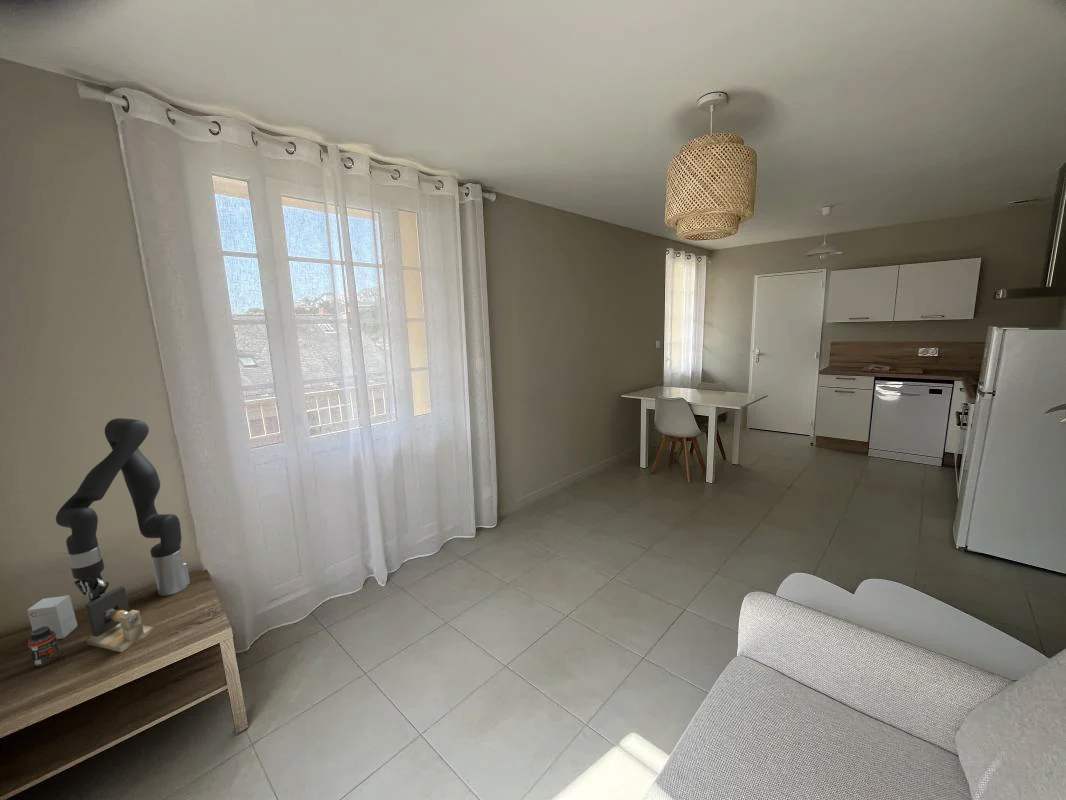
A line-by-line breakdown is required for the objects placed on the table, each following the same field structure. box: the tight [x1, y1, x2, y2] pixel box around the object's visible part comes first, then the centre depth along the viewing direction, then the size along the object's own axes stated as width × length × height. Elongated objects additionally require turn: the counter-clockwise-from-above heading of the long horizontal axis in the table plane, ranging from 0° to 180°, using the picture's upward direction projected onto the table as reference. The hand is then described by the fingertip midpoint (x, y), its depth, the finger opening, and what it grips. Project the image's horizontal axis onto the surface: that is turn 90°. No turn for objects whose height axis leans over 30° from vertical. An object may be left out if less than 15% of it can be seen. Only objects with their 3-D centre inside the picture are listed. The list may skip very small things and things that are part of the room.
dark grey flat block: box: [85, 585, 131, 637], centre depth 145 cm, size 10×2×12 cm, turn 167°
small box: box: [26, 595, 78, 640], centre depth 146 cm, size 8×6×13 cm
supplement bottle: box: [27, 626, 61, 667], centre depth 135 cm, size 6×6×11 cm
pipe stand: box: [85, 608, 155, 653], centre depth 145 cm, size 10×16×11 cm, turn 77°
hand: (96, 605), depth 145 cm, fingers closed
